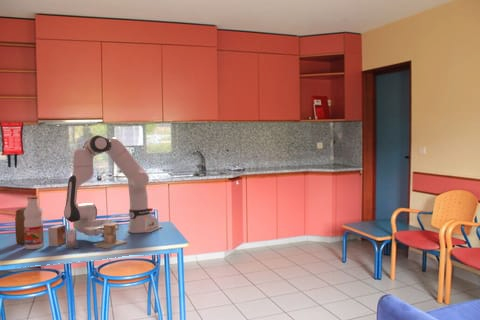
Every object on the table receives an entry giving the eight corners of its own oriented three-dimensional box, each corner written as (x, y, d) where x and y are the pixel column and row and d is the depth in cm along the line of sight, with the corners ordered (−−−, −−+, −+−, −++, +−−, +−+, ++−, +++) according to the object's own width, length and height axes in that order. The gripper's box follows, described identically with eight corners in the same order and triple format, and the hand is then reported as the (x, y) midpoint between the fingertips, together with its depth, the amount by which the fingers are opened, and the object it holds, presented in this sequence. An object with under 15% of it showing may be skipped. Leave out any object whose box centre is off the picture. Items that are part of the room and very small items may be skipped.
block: (28, 245, 234) (27, 209, 232) (14, 245, 233) (13, 210, 232) (36, 240, 244) (35, 206, 243) (23, 240, 244) (21, 206, 243)
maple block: (110, 241, 236) (110, 223, 236) (116, 242, 234) (115, 224, 233) (104, 242, 232) (103, 225, 232) (109, 243, 230) (109, 226, 229)
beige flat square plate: (113, 240, 242) (113, 238, 242) (127, 242, 236) (127, 241, 236) (92, 245, 231) (92, 243, 231) (107, 248, 224) (107, 246, 224)
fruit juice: (47, 245, 231) (45, 195, 229) (33, 250, 222) (31, 198, 221) (35, 244, 235) (33, 195, 233) (20, 248, 226) (18, 197, 224)
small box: (57, 246, 229) (56, 227, 228) (48, 246, 230) (47, 227, 230) (66, 243, 237) (65, 224, 236) (57, 242, 238) (57, 224, 237)
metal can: (73, 246, 230) (72, 230, 229) (78, 247, 227) (78, 231, 227) (64, 248, 226) (64, 231, 225) (70, 249, 223) (69, 233, 222)
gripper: (79, 225, 231) (94, 228, 223) (109, 219, 248) (124, 221, 240) (79, 236, 231) (95, 239, 224) (109, 229, 248) (125, 232, 241)
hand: (110, 230), depth 232 cm, fingers open, 8 cm apart
